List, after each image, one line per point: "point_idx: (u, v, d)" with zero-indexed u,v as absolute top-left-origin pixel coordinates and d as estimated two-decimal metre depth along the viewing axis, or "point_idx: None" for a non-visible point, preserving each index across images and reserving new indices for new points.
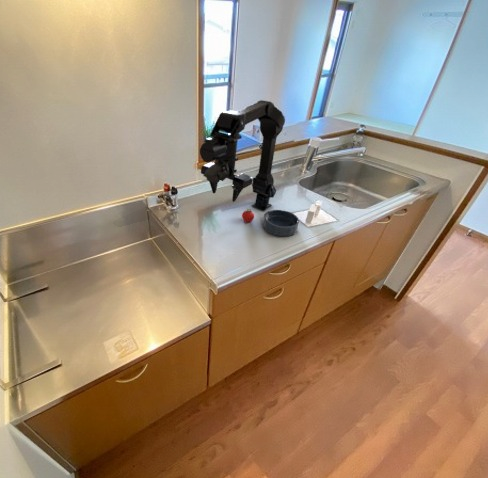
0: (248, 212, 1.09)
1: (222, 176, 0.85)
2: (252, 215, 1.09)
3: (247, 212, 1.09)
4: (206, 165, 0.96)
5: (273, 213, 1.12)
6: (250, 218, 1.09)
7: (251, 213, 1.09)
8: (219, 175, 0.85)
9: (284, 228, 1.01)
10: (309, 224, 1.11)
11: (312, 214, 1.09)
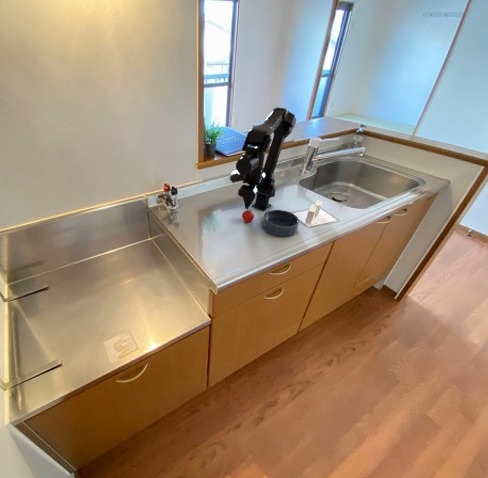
0: (248, 212, 1.09)
1: (232, 177, 1.00)
2: (252, 215, 1.09)
3: (247, 212, 1.09)
4: None
5: (273, 213, 1.12)
6: (250, 218, 1.09)
7: (251, 213, 1.09)
8: None
9: (284, 228, 1.01)
10: (309, 224, 1.11)
11: (312, 214, 1.09)
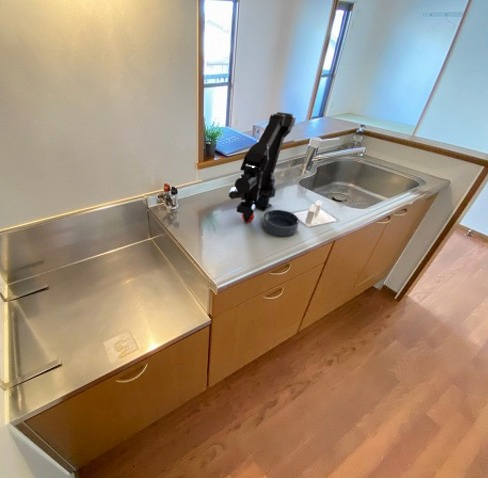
0: None
1: (230, 194, 1.05)
2: (252, 215, 1.09)
3: None
4: None
5: (273, 213, 1.12)
6: (250, 218, 1.09)
7: None
8: None
9: (284, 228, 1.01)
10: (309, 224, 1.11)
11: (312, 214, 1.09)
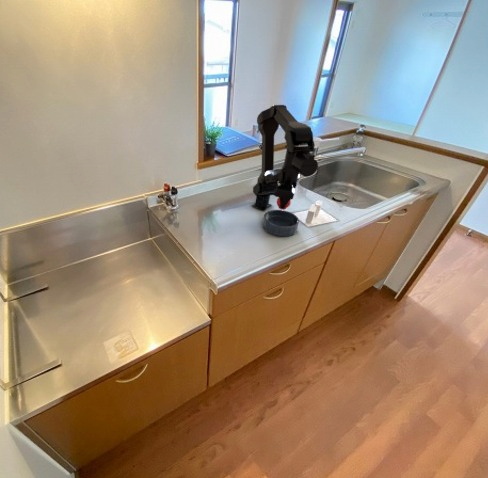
0: None
1: (267, 177, 0.95)
2: (289, 201, 1.00)
3: None
4: None
5: (273, 213, 1.12)
6: None
7: None
8: (266, 176, 0.96)
9: (284, 228, 1.01)
10: (309, 224, 1.11)
11: (312, 214, 1.09)
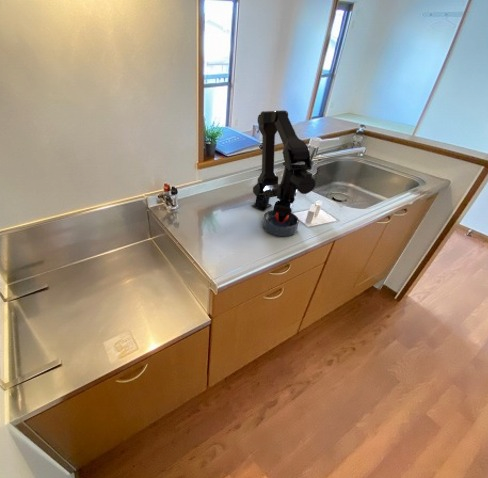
0: None
1: (266, 193, 0.99)
2: (287, 215, 1.04)
3: None
4: None
5: (273, 213, 1.12)
6: (285, 218, 1.04)
7: None
8: (265, 191, 0.99)
9: (284, 228, 1.01)
10: (309, 224, 1.11)
11: (312, 214, 1.09)
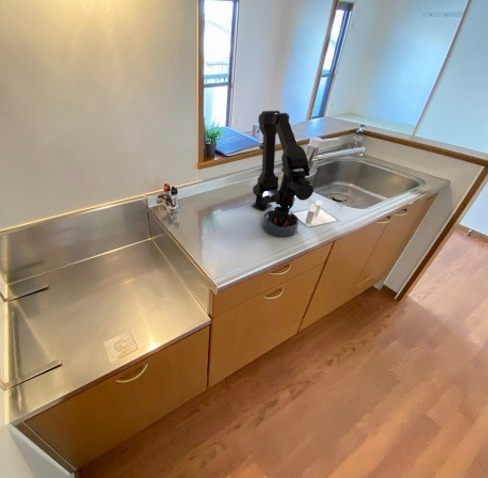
0: None
1: (265, 199, 1.00)
2: None
3: None
4: None
5: None
6: None
7: None
8: (264, 197, 1.01)
9: (284, 228, 1.01)
10: (309, 224, 1.11)
11: (312, 214, 1.09)
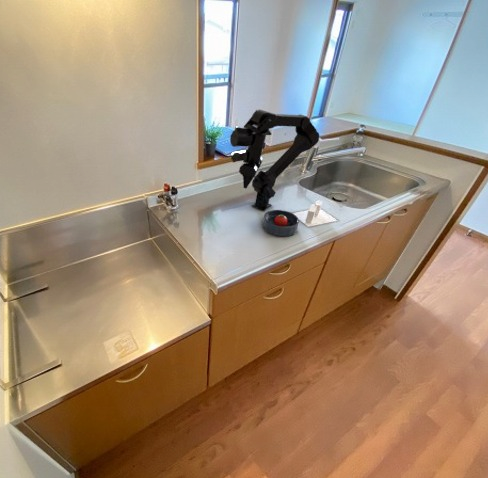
0: (281, 218, 1.05)
1: (233, 156, 1.05)
2: (285, 221, 1.05)
3: (280, 218, 1.05)
4: None
5: (273, 213, 1.12)
6: (283, 224, 1.05)
7: (285, 219, 1.05)
8: (233, 155, 1.06)
9: (284, 228, 1.01)
10: (309, 224, 1.11)
11: (312, 214, 1.09)
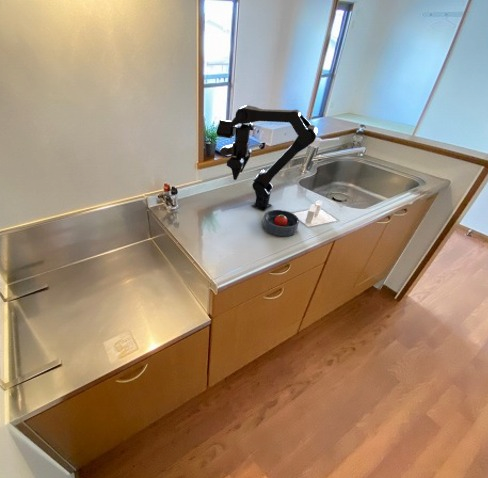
0: (281, 218, 1.05)
1: (221, 151, 1.13)
2: (285, 221, 1.05)
3: (280, 218, 1.05)
4: None
5: (273, 213, 1.12)
6: (283, 224, 1.05)
7: (285, 219, 1.05)
8: None
9: (284, 228, 1.01)
10: (309, 224, 1.11)
11: (312, 214, 1.09)
